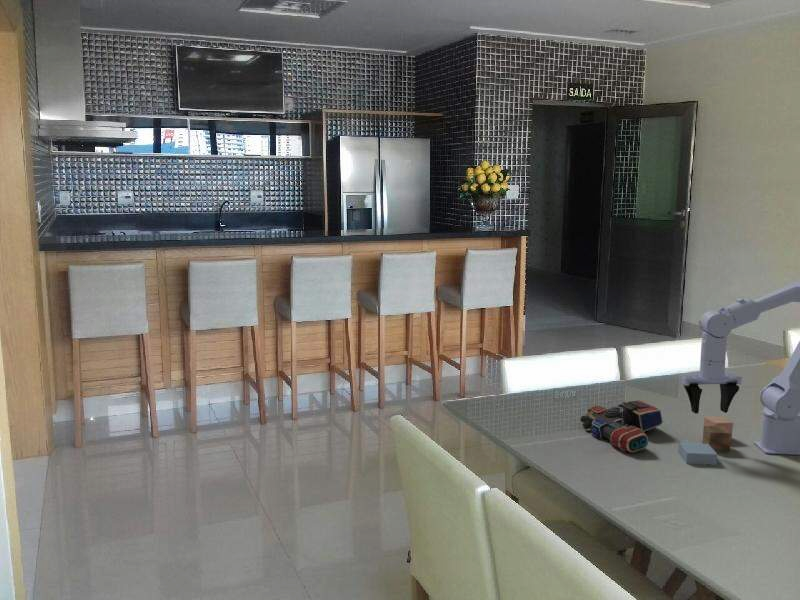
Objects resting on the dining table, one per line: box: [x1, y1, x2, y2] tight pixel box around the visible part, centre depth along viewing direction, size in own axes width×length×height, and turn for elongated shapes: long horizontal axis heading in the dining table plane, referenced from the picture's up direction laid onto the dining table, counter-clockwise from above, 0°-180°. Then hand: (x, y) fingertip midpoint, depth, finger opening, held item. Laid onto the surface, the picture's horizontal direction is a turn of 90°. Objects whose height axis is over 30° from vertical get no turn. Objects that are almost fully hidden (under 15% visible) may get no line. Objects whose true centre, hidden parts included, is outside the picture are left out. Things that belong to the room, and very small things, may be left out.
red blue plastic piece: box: [579, 399, 664, 453], centre depth 189 cm, size 8×25×20 cm
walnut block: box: [701, 425, 731, 453], centre depth 180 cm, size 5×5×5 cm
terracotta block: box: [703, 415, 734, 442], centre depth 188 cm, size 5×5×5 cm
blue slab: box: [677, 442, 718, 466], centre depth 173 cm, size 7×7×3 cm
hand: (709, 411), depth 179 cm, fingers open, 7 cm apart
